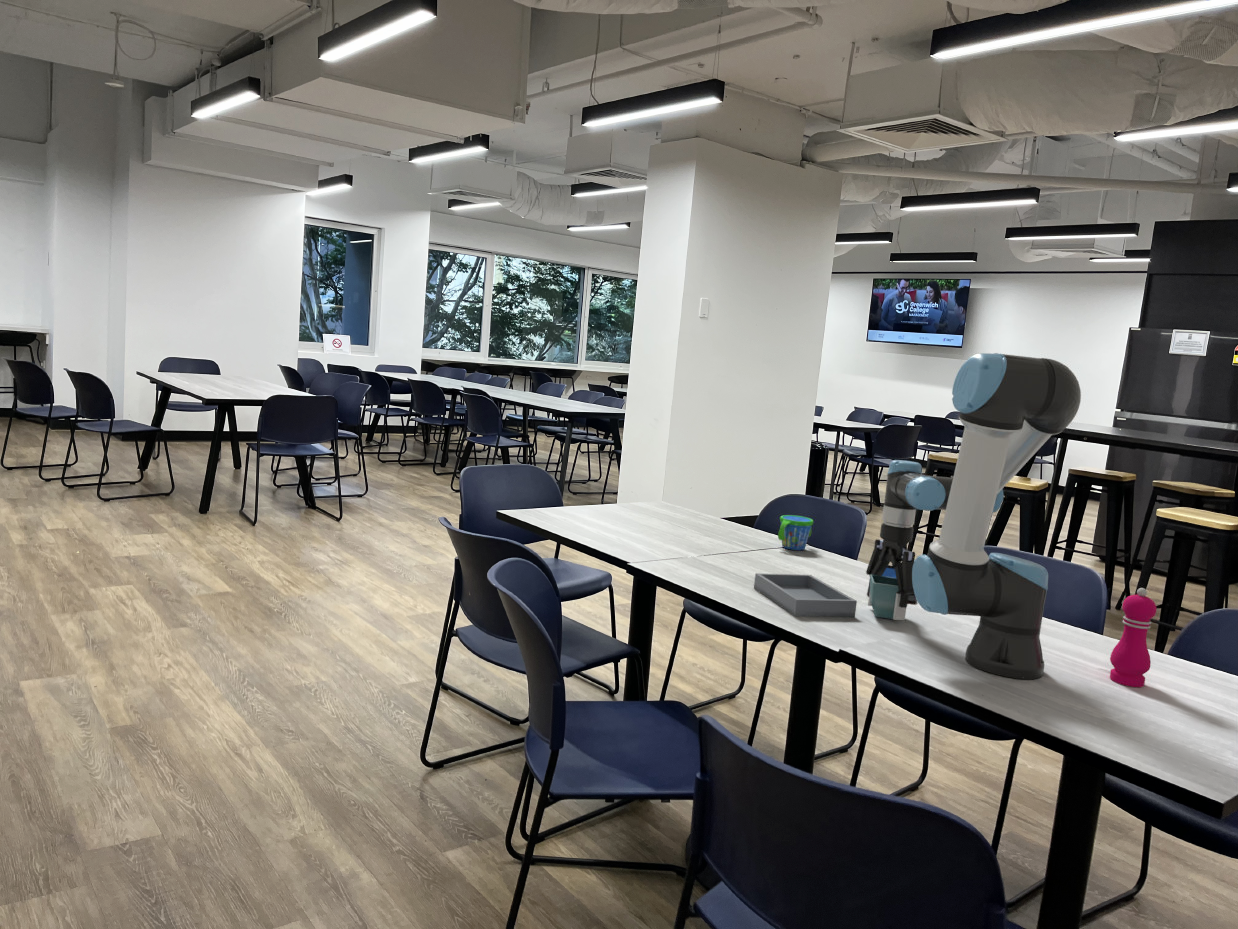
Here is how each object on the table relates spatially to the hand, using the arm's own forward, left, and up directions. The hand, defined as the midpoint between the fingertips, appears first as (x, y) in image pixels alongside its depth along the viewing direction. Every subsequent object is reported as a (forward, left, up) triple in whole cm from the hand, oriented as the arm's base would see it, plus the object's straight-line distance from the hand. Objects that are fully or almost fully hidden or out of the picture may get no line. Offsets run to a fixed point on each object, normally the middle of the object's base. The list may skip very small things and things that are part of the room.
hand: (885, 612), depth 213 cm
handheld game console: (+18, -13, -1) cm, 23 cm away
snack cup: (+73, -11, -1) cm, 74 cm away
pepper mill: (-43, -30, -1) cm, 52 cm away
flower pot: (0, 0, -1) cm, 1 cm away
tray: (+11, +17, -1) cm, 20 cm away
